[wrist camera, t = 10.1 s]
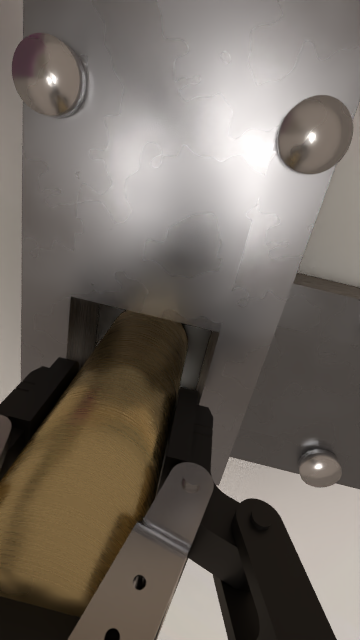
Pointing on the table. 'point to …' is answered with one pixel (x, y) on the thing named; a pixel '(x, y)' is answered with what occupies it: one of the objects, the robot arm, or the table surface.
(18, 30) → the table surface
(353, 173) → the table surface
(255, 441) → the lower chain end
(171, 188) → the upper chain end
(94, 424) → the brass pin
